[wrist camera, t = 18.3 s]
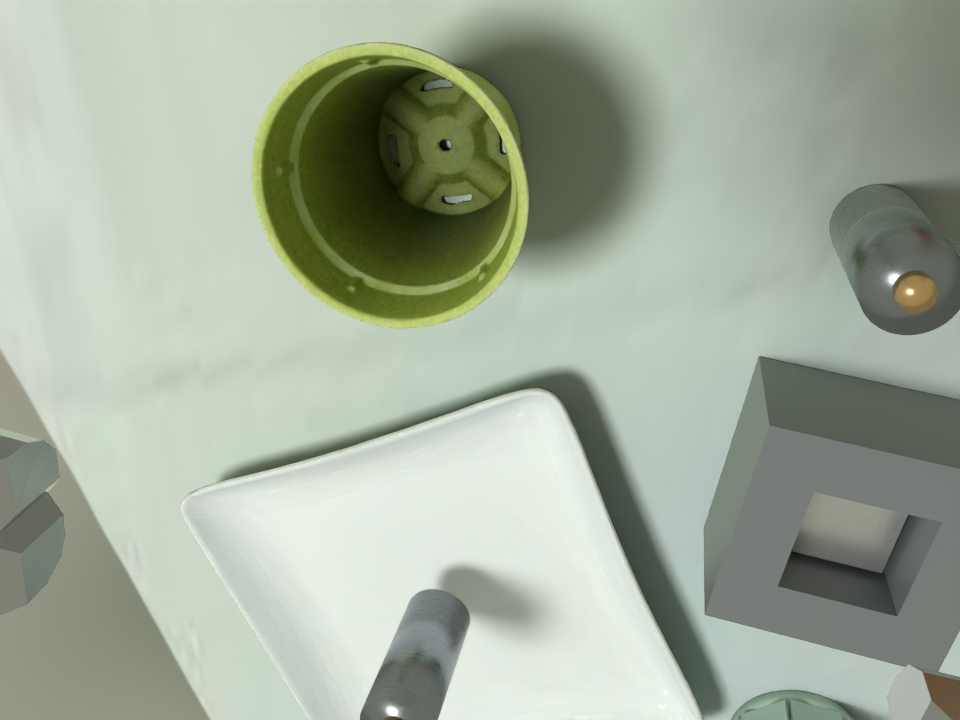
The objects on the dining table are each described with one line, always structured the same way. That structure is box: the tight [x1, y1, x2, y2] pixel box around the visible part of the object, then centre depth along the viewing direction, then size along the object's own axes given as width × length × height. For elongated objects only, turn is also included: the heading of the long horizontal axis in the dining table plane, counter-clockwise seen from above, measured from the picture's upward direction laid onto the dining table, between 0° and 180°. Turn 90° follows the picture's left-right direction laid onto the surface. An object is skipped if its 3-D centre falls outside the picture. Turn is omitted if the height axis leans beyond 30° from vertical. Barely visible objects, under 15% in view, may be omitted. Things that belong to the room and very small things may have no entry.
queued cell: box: [830, 184, 960, 335], centre depth 31 cm, size 3×3×8 cm
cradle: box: [704, 357, 960, 672], centre depth 36 cm, size 9×10×6 cm
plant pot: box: [252, 43, 529, 328], centre depth 32 cm, size 9×9×9 cm
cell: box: [360, 589, 470, 720], centre depth 40 cm, size 3×3×8 cm
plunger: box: [792, 492, 908, 573], centre depth 36 cm, size 4×4×1 cm
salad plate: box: [180, 388, 704, 720], centre depth 45 cm, size 21×21×3 cm
